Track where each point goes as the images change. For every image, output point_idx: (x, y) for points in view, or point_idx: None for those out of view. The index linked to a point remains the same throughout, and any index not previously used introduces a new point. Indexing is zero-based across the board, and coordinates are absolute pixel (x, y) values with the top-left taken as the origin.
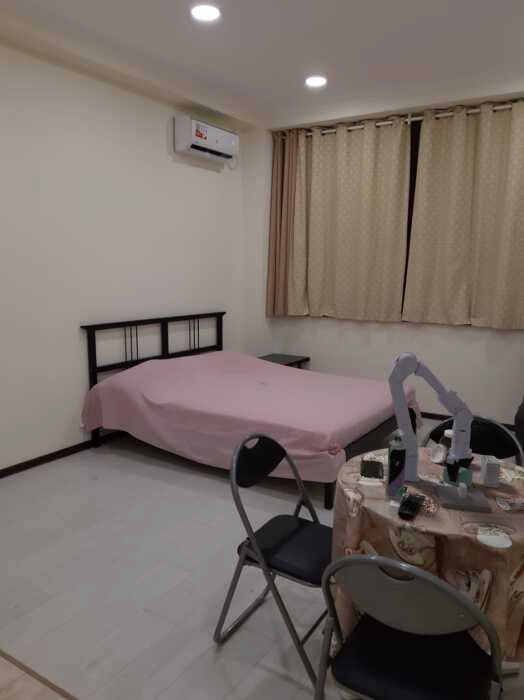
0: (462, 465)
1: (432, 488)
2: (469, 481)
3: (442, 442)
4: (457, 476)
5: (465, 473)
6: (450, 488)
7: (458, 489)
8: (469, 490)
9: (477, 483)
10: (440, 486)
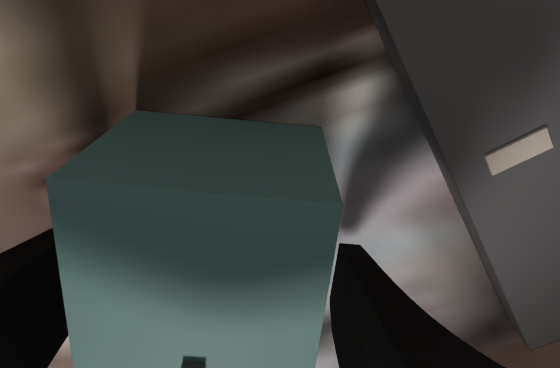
0: (14, 362)
1: (508, 339)
2: (196, 134)
3: None
4: (360, 277)
5: (284, 227)
6: (556, 225)
7: (550, 148)
8: (496, 30)
9: (39, 71)
10: (554, 310)
